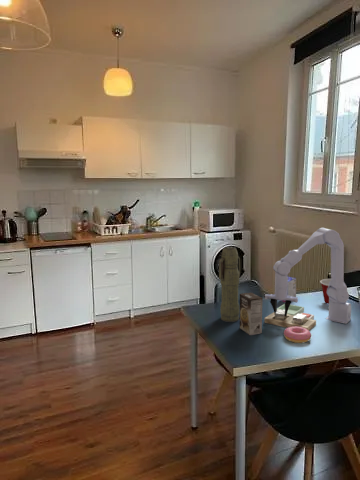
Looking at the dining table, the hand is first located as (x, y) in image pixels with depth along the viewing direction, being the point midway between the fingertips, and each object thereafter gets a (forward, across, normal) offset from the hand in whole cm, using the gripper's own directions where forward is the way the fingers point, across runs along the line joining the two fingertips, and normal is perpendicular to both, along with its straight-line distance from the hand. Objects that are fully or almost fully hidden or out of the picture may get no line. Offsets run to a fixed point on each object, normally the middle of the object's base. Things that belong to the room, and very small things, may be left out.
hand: (280, 315), depth 170 cm
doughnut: (+4, -10, +16) cm, 19 cm away
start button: (+3, -10, -8) cm, 13 cm away
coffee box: (+4, +10, +15) cm, 19 cm away
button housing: (+3, -10, -8) cm, 13 cm away
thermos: (+4, +23, +4) cm, 24 cm away
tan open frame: (+3, -4, +1) cm, 6 cm away
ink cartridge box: (+4, +2, -35) cm, 35 cm away
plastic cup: (+4, -20, -38) cm, 43 cm away
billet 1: (+3, 0, 0) cm, 3 cm away
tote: (+3, -2, -13) cm, 14 cm away
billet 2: (+3, -9, +2) cm, 10 cm away
